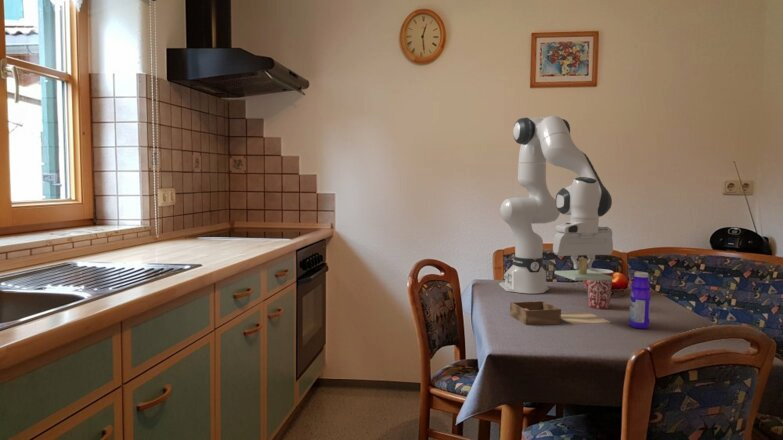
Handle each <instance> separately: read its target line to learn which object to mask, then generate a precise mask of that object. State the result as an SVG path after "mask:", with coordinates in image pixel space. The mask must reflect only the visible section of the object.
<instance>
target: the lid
mask: <svg viewBox="0 0 783 440" xmlns="http://www.w3.org/2000/svg"><path fill="white" fill-rule="evenodd" d="M587 261H588V257H587V258H586V257H578V263H580V264H581V266H580V267H581V268H580V269H573V270H572V269H571V270H554V275H557V276H560V277H562V278H567V279H569V280H573V281H575V282H576V281H588V280H612V281H613V277H612V276H609V275H605V274H602V273H598V272H595V271H591V270H588V269H587Z"/></svg>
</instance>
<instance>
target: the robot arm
mask: <svg viewBox="0 0 783 440" xmlns="http://www.w3.org/2000/svg"><path fill="white" fill-rule="evenodd" d="M512 135H513V139H514V141H515V142H516V144H520V146H519V153H518V164H517V182H518V183H519V185H520V186H522V187H523V188H524V189H526V190H527V193H528V196H514V197H510V198H505V199H504V200H503V201H502V203H501V204H500V208H499V213H500V216H501V218H502V220H503V221H504V222H505V223H506V224H507V225H508V226H509V227H510V229H511V231H512V234H513V237H514V256H513V257H512V265H511V266H510V267H509V268H508V270H507V271H505V273H504V274H503V280H504V281H501V282H499V284H498V285H499V286H500V287H501V288H502V289H504V290H505V291H506V292H512V293H518V294H519V293H520V294H530V295H531V294H543V293H546V291H549V289H550V288H549V286H547V277H546V274H547V273H546V270H545V269H544V268H543V267H544V257H543V252H544V251H543V247H544V242H543V238H542V237H541V235H539V234H538V233H537V232H534V229H533V228H532V227H533V226H532V224H533V225H534V224H536V225H537V224H547V223H552V222H555V221H556V220H557V219H558V218H559V217H560V214H561V215H565V216H570V217H569V220H568V221H566V222H563V223H561V224H557V225H556V226H555V231H556V233H555V235H554V236H553V243H552V253H553V254H554V255H555V256H561V257H562V256H565V257H566V256H567V257H568V256H570V259H571V261H572V262H573V270H578V269H580V268H581V267H580V266H581V264H580V263H579V256H587V270H588V269H592V264H593V263H594V261H595V259H596V256H610V255H612V254H613V253H614V243H613V230H612V228H609V226H599V222H600V221H599V218H601V217H603V216H604V215H606V214H607V213H608V212H609V211H610V209H611V207H612V204H613V202H612V200H613V199H612V196H611V194H610V191H608V189H607V188H606V186H605V185H604V184H603V182H602V181H601V179H600V176H599V175H598V173H597V171H596V169H595V168H594V165H593V164H592V162H591V160H590V159H589V157H588V155H587V154H586V153H584V152H583V151H582V150H581V149H579V147H578V146H577V145H576V144H575V143H574V141H573V139H572V136H571V126H570V122H569V121H568V120H566V119H563V118H561V117H560V116H557V115H549V116H544V117H543V116H542V117H541V116H539V117H521V118H518V119H517V120H516V121H515V123H514V125H513V132H512ZM547 163H549V164H551V165H553V166H556V167H559V168H563V169H567V170H569V171H571V172H574V173H575V174H577V175H578V176H579V177H576V178H573V180H572V183H571V184H569V185H568V186H566V187H562V188H561V189H560V190H559V191H558V192H557V193H556V196H555V198H554V196H552V195H551V192H550V191H549V189H548V185H547V177H546V175H547ZM577 259H578V260H577Z"/></svg>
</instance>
